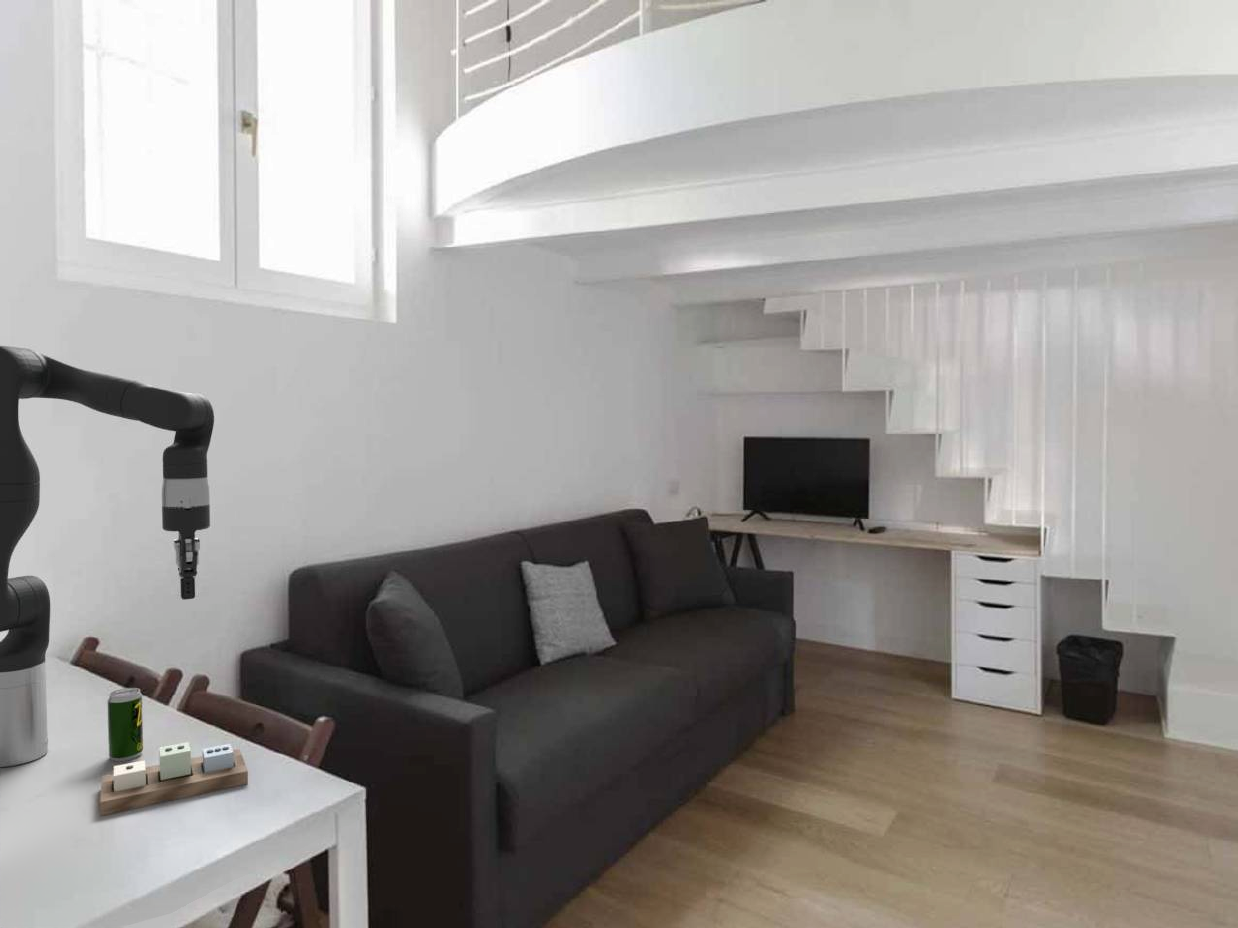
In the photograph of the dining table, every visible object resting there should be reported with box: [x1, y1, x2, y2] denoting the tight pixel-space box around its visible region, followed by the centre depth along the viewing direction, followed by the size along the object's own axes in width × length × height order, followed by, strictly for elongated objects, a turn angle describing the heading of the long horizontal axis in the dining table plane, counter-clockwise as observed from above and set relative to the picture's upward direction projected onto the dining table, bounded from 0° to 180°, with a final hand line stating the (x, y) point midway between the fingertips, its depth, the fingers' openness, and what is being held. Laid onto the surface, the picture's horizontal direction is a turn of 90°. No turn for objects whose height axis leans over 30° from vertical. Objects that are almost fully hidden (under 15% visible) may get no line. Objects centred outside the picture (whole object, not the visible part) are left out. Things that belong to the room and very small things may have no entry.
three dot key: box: [202, 743, 234, 773], centre depth 135 cm, size 4×4×4 cm
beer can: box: [107, 687, 144, 762], centre depth 144 cm, size 5×5×12 cm
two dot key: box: [158, 741, 192, 780], centre depth 132 cm, size 4×4×4 cm
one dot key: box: [113, 760, 146, 792], centre depth 128 cm, size 4×4×4 cm
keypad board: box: [99, 748, 249, 817], centre depth 132 cm, size 21×11×2 cm, turn 123°
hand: (187, 598), depth 141 cm, fingers closed
